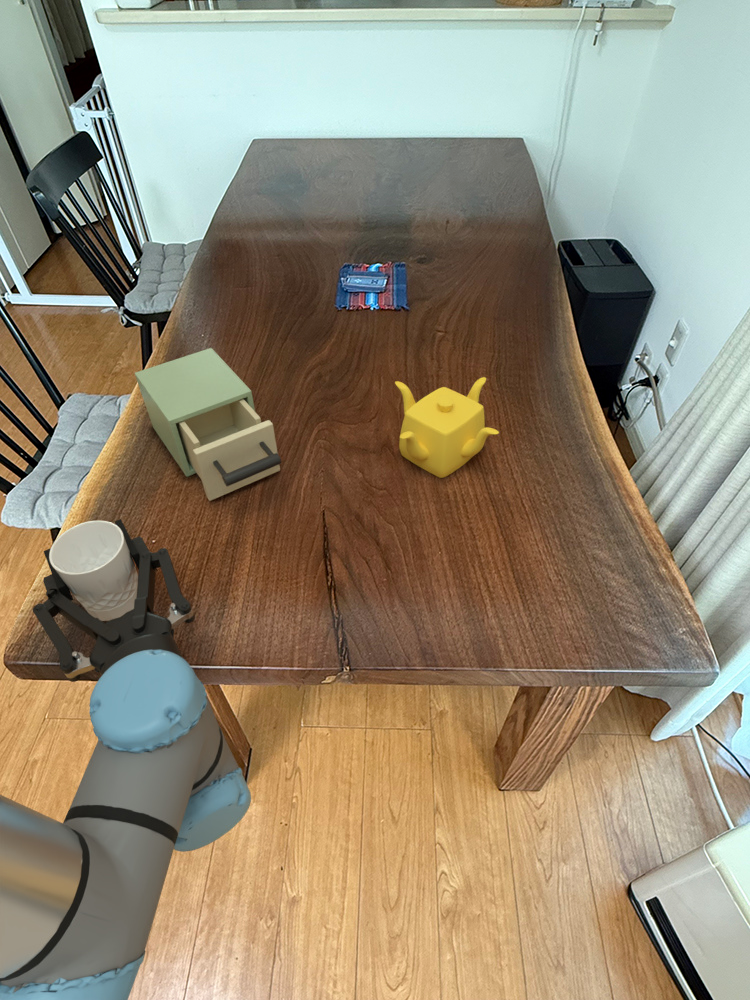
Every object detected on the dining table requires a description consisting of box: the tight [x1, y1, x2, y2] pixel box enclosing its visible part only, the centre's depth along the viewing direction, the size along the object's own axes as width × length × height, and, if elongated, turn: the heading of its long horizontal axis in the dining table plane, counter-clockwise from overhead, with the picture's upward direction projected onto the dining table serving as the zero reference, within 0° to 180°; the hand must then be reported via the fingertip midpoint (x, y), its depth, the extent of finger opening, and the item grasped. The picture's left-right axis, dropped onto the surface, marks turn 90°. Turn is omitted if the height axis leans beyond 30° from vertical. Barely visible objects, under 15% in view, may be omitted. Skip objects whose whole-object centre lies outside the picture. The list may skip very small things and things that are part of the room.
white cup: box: [49, 519, 138, 622], centre depth 70 cm, size 8×8×10 cm
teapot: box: [394, 376, 500, 479], centre depth 90 cm, size 15×14×10 cm
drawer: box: [175, 399, 282, 502], centre depth 87 cm, size 18×11×9 cm, turn 34°
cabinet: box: [134, 347, 256, 478], centre depth 93 cm, size 15×13×11 cm
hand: (86, 542), depth 72 cm, fingers closed on white cup, 8 cm apart
